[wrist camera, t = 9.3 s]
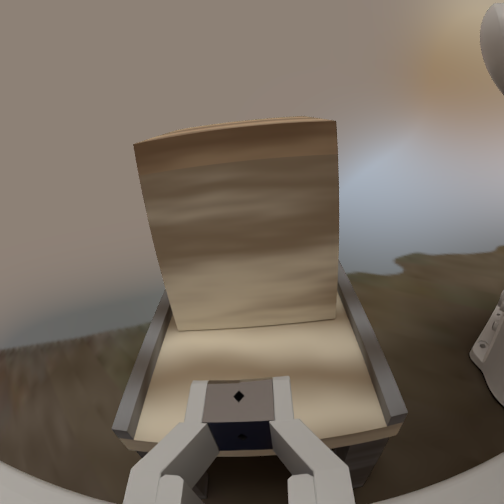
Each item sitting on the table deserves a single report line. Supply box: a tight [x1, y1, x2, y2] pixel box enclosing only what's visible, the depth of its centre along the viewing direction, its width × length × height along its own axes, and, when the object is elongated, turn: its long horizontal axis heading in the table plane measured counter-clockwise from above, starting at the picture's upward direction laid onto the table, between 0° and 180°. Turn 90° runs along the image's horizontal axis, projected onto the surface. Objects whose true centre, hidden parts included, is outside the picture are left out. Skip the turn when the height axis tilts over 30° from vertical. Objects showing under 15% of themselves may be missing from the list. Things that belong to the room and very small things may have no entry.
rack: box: [112, 259, 408, 499], centre depth 26 cm, size 23×16×12 cm
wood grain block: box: [133, 116, 339, 331], centre depth 25 cm, size 12×12×14 cm
